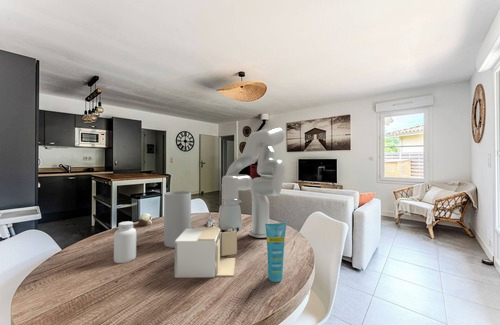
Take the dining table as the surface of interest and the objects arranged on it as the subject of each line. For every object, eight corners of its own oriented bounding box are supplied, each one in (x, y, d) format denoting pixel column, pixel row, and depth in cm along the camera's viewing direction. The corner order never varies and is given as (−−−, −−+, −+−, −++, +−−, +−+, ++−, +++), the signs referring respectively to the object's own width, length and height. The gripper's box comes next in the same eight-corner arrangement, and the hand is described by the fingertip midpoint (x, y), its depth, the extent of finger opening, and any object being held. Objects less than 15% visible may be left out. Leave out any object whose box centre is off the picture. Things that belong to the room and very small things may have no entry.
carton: (235, 258, 86) (235, 227, 86) (233, 277, 72) (233, 239, 72) (186, 258, 86) (186, 227, 86) (174, 277, 72) (174, 239, 72)
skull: (140, 220, 138) (152, 209, 138) (150, 232, 136) (161, 221, 136) (128, 224, 126) (141, 212, 126) (139, 237, 124) (151, 225, 124)
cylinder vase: (183, 237, 112) (183, 190, 112) (195, 243, 103) (195, 192, 103) (159, 243, 103) (160, 192, 103) (170, 250, 94) (170, 195, 94)
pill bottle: (140, 256, 88) (140, 221, 88) (123, 265, 80) (123, 226, 80) (126, 253, 91) (126, 219, 91) (108, 262, 83) (109, 224, 83)
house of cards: (221, 226, 131) (221, 214, 131) (207, 227, 129) (207, 215, 129) (218, 222, 140) (218, 211, 140) (205, 223, 137) (205, 212, 137)
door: (217, 249, 93) (217, 227, 93) (232, 246, 95) (232, 226, 96) (220, 256, 86) (221, 233, 86) (236, 253, 88) (236, 231, 88)
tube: (267, 283, 69) (267, 225, 69) (263, 275, 73) (263, 221, 73) (288, 280, 70) (288, 224, 70) (282, 273, 75) (283, 220, 75)
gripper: (243, 200, 101) (243, 238, 101) (211, 202, 95) (211, 242, 95) (249, 203, 94) (249, 243, 94) (214, 205, 88) (214, 249, 88)
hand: (230, 243), depth 94 cm, fingers closed
